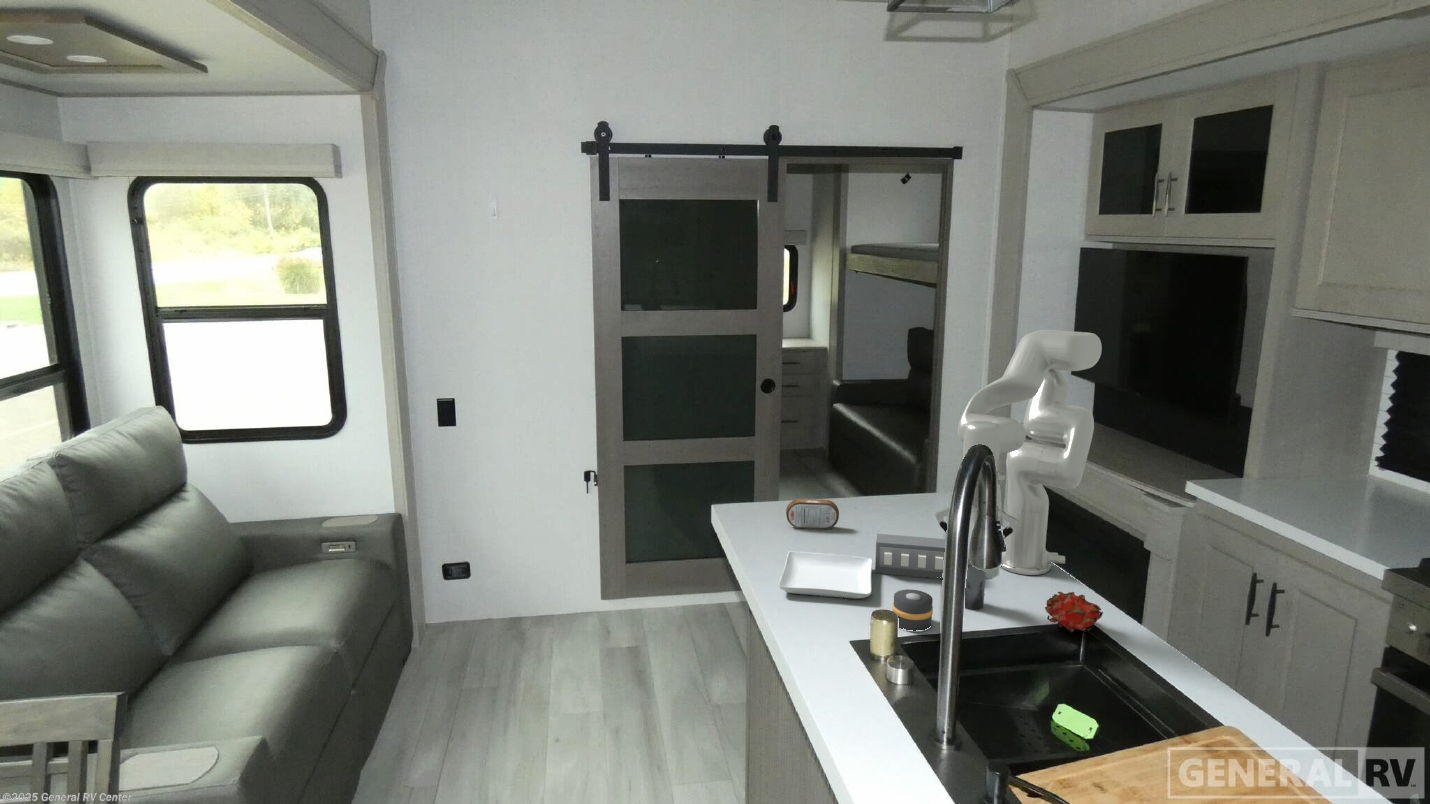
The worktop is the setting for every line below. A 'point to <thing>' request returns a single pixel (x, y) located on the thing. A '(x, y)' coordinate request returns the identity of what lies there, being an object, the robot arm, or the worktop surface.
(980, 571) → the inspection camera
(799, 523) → the tin
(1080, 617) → the dragon fruit
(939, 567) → the breaker panel
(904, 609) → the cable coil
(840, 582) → the salad plate
